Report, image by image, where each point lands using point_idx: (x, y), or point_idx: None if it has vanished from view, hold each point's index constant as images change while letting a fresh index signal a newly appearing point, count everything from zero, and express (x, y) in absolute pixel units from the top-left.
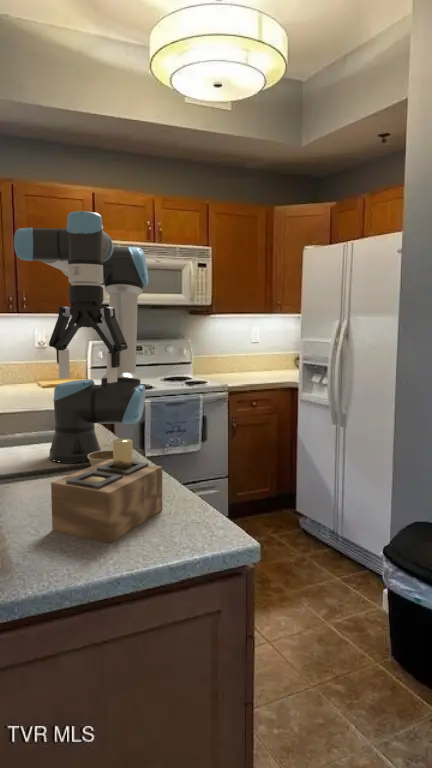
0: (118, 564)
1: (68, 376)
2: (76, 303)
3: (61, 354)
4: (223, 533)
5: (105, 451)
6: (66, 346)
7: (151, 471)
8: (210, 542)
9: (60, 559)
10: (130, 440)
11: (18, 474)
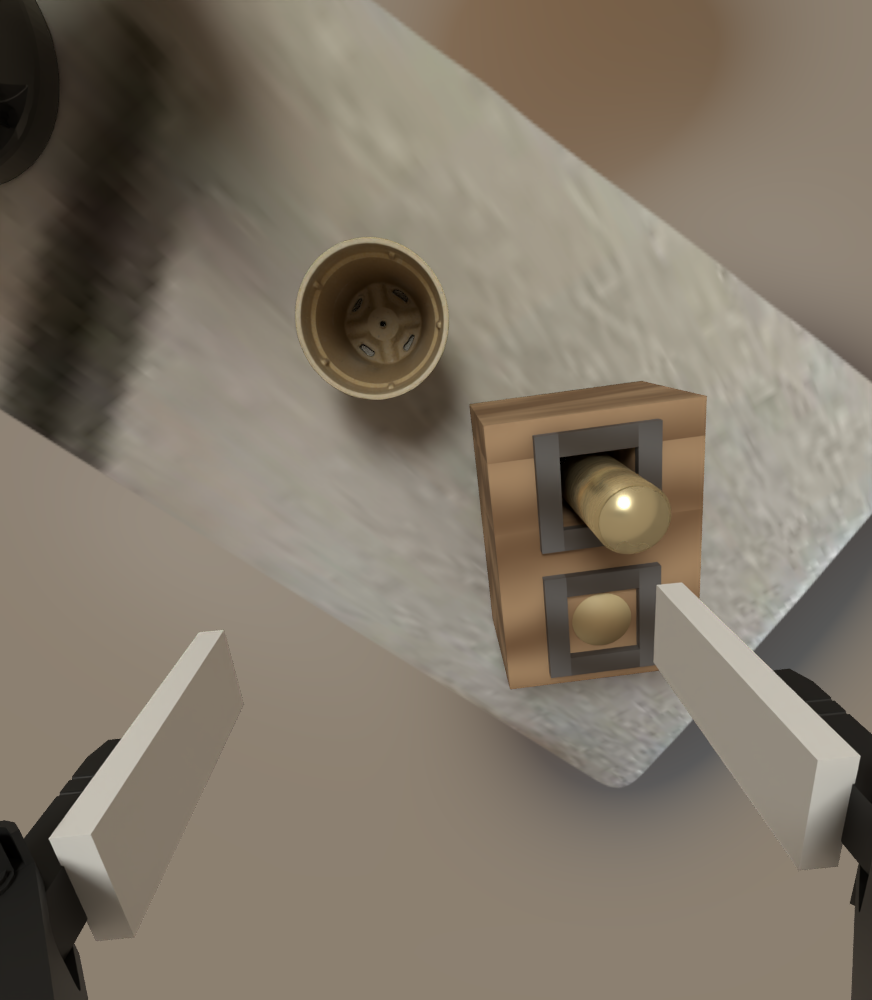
0: None
1: (222, 647)
2: None
3: (157, 886)
4: (851, 424)
5: (316, 269)
6: (40, 896)
7: (701, 463)
8: (838, 482)
9: (603, 688)
10: (660, 501)
11: (29, 387)
